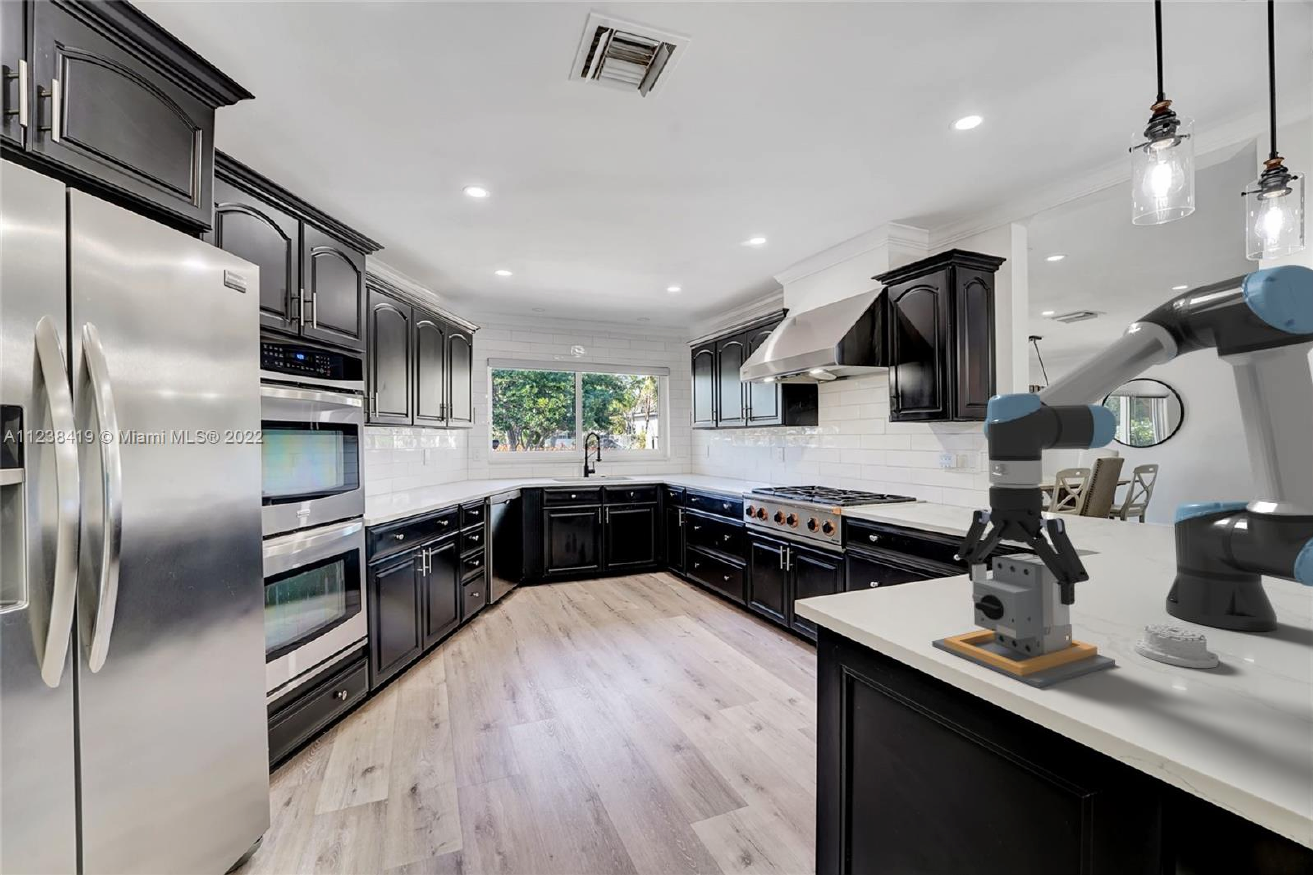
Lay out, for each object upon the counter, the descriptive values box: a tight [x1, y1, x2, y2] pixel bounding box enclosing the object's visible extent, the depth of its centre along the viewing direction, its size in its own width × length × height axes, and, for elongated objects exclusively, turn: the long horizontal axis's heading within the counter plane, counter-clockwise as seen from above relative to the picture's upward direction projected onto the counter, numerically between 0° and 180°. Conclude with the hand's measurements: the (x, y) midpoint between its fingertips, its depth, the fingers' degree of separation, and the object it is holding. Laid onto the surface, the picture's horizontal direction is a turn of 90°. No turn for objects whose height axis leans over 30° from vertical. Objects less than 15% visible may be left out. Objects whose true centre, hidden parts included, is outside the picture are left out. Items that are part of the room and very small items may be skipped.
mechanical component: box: [1133, 624, 1219, 669], centre depth 89 cm, size 10×4×10 cm
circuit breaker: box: [972, 552, 1073, 658], centre depth 91 cm, size 8×14×15 cm, turn 108°
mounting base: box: [931, 628, 1116, 689], centre depth 91 cm, size 19×18×2 cm
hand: (1018, 611), depth 91 cm, fingers open, 13 cm apart
